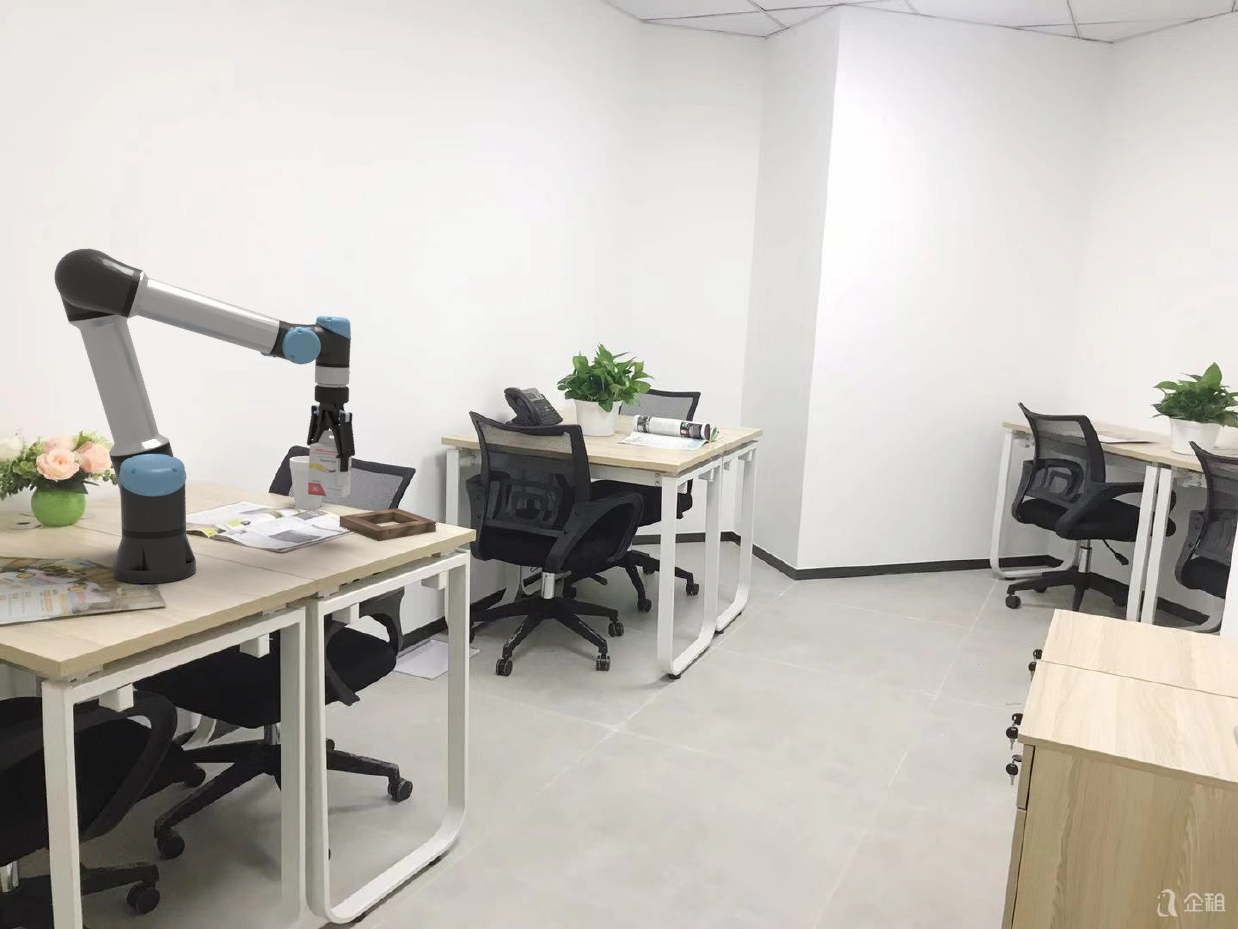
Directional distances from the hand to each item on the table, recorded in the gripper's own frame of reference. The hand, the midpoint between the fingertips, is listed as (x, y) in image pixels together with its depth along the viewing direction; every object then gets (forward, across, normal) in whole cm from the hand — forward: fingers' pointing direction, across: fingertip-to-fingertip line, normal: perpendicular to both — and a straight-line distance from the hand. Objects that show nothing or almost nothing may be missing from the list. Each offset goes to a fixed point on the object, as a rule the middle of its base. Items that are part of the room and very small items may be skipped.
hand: (329, 481), depth 217 cm
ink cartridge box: (+3, 0, 0) cm, 3 cm away
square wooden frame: (+15, +4, -19) cm, 24 cm away
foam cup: (+15, +35, -14) cm, 41 cm away
